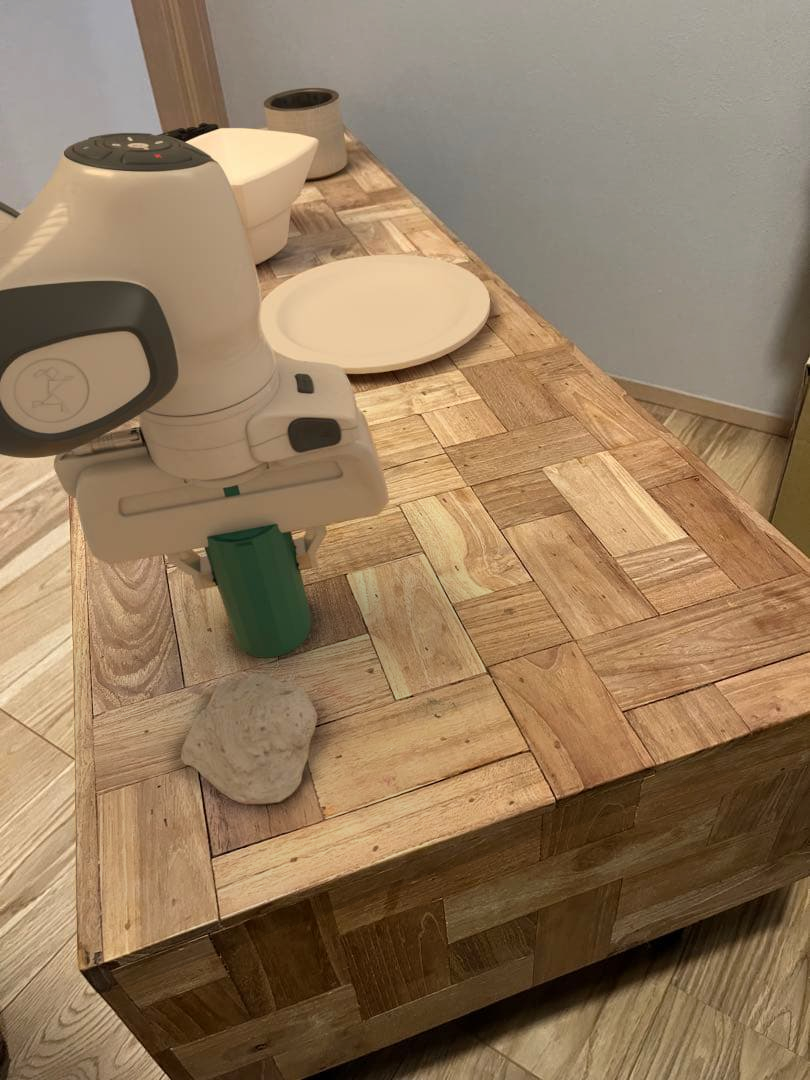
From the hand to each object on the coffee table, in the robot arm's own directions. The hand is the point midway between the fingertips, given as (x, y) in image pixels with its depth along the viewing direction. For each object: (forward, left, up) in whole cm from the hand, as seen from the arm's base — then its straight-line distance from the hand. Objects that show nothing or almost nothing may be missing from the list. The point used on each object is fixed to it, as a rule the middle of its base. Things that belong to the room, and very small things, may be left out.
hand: (258, 572), depth 60 cm
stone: (-2, -10, -6) cm, 12 cm away
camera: (-7, +109, -6) cm, 109 cm away
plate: (+15, +46, -6) cm, 49 cm away
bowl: (+2, +71, -6) cm, 71 cm away
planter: (+14, +103, -6) cm, 104 cm away
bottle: (0, 0, -6) cm, 6 cm away
